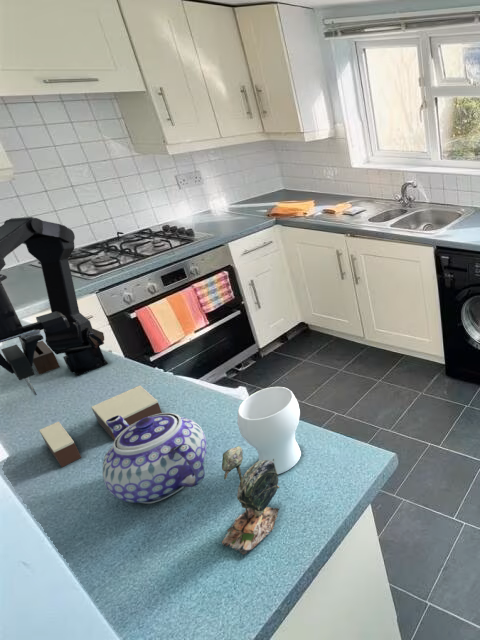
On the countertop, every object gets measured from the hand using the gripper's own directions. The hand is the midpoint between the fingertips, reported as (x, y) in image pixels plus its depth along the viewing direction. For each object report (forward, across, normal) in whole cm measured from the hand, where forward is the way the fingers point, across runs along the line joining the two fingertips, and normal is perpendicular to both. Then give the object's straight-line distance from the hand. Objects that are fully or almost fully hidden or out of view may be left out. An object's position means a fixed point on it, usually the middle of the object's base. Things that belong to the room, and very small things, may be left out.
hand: (22, 369), depth 94 cm
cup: (+13, -23, +58) cm, 64 cm away
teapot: (+13, -8, +44) cm, 47 cm away
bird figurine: (+13, -13, +68) cm, 70 cm away
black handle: (+6, 0, 0) cm, 6 cm away
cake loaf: (+13, -10, +18) cm, 25 cm away
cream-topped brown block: (+13, +1, +18) cm, 22 cm away
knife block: (+13, -6, -27) cm, 30 cm away
